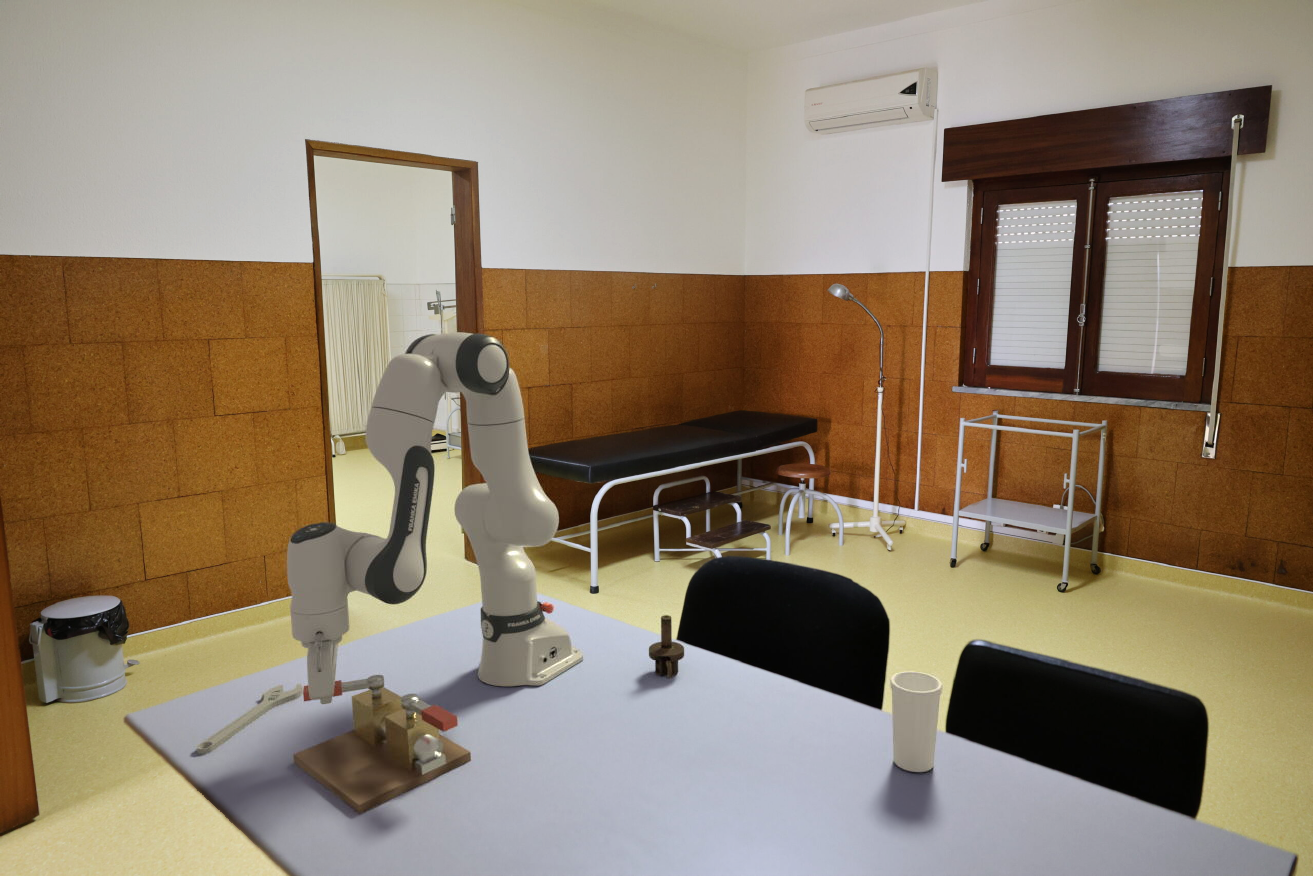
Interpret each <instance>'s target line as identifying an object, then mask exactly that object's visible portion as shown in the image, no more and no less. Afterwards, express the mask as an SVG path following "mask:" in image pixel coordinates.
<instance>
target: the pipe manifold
mask: <svg viewBox="0 0 1313 876" xmlns="http://www.w3.org/2000/svg"><path fill="white" fill-rule="evenodd" d="M419 697H420V696H419V695H418V694H417V693H407V694H404V695H403V696H400V695H398V694H397V693H395V692H394V691H392V690H390V689H388V688H386V687H384V686H383V687H382V688H380V689H375V690H371V689H368V690H364V691H363V692H362V691H361V692H360V693H358V694H354V695H352V696H351V705H352V707H351V708H352V719H353V721H352V726H353V728H352V730H354V733H355V735H357V736H358V737H360V738H362V739H363V740H365V741H366V742H368V743H369V744H371V745H372V746H374V747H378V746H380V745H382V744H383V749H384V750H385V751H387V755H388V756H389V757H390V758H392V759H393V760H395V761H396V762H398V763H399V764H401V765H402V766H404V767H405V768H407V769H408V770H410V771H411V770H413V769H415V770H416V771H417V772H419V773H420V774H422V775H423V774H425V773H427V772H429V771H431V770H434V769H436V768H438V767H440V766H442V765H444V764H446V758H445V755H444V754H443V753H442V750H443V744H442V742H441V741H440V740H439V734H440V732H442V733H444V732H447V731H450V730H451V729H453V728H456V727H458V726H459V725H458V724H459V723H458V716H457V715H456V714H454V713H452V712H450V711H448V710H447V709H445V708H443V707H442V706H440V705H437V704H433V705H431V704H429V703H428V702H426V701H424V700H421V699H420V698H419ZM439 731H440V732H439Z"/></svg>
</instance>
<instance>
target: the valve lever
mask: <svg viewBox="0 0 1313 876" xmlns="http://www.w3.org/2000/svg"><path fill="white" fill-rule="evenodd" d="M384 686H385V676H384V675H382V674H374V675H370V676H368V677H367V678H363V679H357V680H350V681H349V680H348V681H343V682H342V680H341V679H339V680H335V687H334V695H333V696H332V698H335V697H339V696H343V693H349V692H354V691H360V690H361V691H362V690H366V689H368V690H370V689H371V690H375V689H380V688H382V687H384ZM302 688H303V694H302V696H303V702H309V701H312V700H311V699H310V697H309V690H308V684H307V685H303V687H302Z"/></svg>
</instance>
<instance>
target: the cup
mask: <svg viewBox="0 0 1313 876" xmlns="http://www.w3.org/2000/svg"><path fill="white" fill-rule="evenodd" d="M889 682H890V689H891V705H892V709H891V710H892V745H893V747H892V749H893V750H892V751H893V752H892V753H893V761H894V764H895V765H896V766H897V767H899V768H901V769H903V770H904V771H908V772H915V773H924V772H928V771H930V770H931V769H932V768H933V767H934V764H935V755H936V745H937V744H936V743H937V735H938V733H937V731H938V721H939V711H940V710H939V709H940V701H941V695H942V693H943V688H944V687H943V684H942V681H941V680H939V678H937V677H936V676H934V675H932V674H929V673H926V672H920V671H910V670H909V671H908V670H907V671H900V672H897V673H895V674H892V676H891V678H890V679H889Z"/></svg>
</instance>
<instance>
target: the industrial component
mask: <svg viewBox="0 0 1313 876" xmlns="http://www.w3.org/2000/svg"><path fill="white" fill-rule="evenodd" d="M672 632H673V631H672V616H671V615H669V614H665V615H661V616H660V639H661V640H660V641H658V642H654V643H652V644H650V646H648V657H649V659H651V660H653V661H655V663H654V667H655V669H654V672H655V674H656V675H657V676H660V677H663V676H667V679H670V678H673V676H677V675H678V674H679V661H681V660H682V659H683V658H684V657H685V647H684V645H683V644H681V643H679V642H675V641H672V640H673V639H672V637H673V636H672V634H673V633H672Z"/></svg>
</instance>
